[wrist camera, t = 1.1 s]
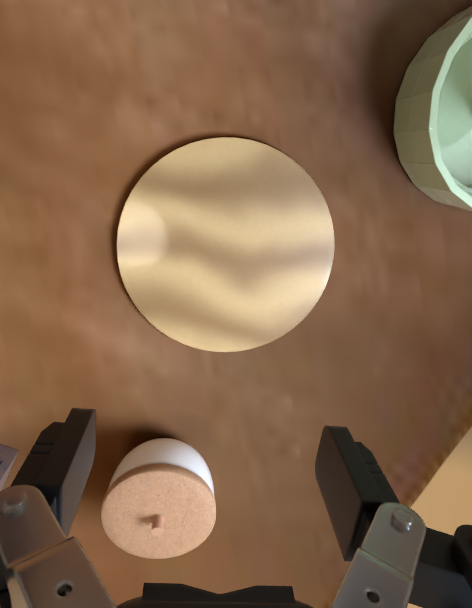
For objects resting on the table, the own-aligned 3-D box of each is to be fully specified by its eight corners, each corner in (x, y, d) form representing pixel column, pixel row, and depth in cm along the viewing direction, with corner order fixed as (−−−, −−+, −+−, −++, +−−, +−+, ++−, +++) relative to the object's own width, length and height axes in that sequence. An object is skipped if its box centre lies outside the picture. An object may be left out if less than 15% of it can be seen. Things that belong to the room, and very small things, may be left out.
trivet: (102, 142, 36) (100, 142, 35) (336, 131, 37) (338, 131, 36) (132, 356, 43) (131, 359, 42) (329, 342, 44) (331, 344, 43)
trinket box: (223, 427, 46) (228, 492, 37) (203, 504, 50) (203, 580, 41) (123, 412, 45) (104, 476, 36) (110, 492, 48) (89, 569, 39)
